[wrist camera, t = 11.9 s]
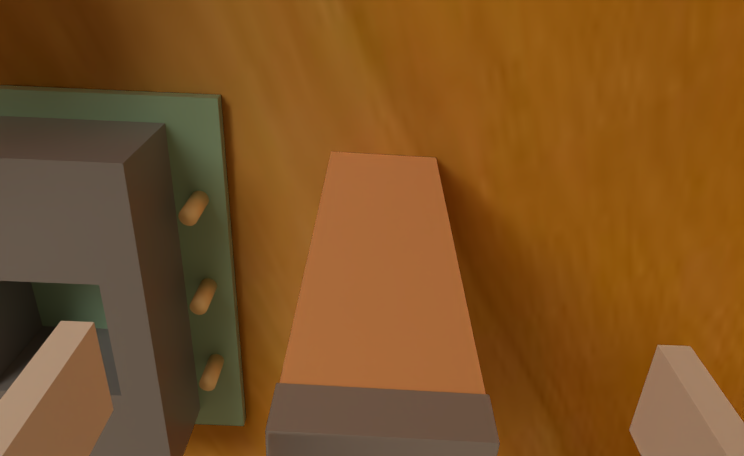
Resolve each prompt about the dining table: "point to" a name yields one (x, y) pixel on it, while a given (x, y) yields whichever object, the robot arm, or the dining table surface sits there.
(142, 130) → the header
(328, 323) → the plug
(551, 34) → the dining table surface
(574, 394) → the dining table surface
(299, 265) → the dining table surface
